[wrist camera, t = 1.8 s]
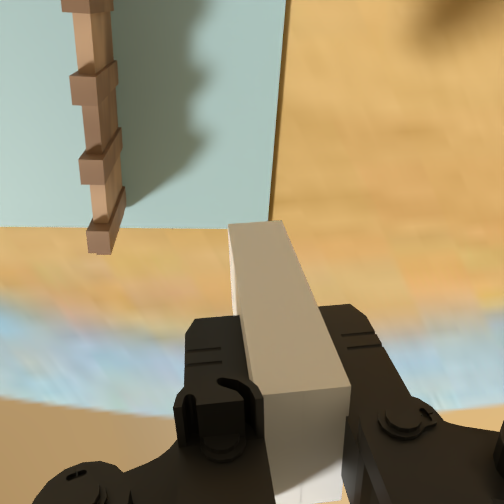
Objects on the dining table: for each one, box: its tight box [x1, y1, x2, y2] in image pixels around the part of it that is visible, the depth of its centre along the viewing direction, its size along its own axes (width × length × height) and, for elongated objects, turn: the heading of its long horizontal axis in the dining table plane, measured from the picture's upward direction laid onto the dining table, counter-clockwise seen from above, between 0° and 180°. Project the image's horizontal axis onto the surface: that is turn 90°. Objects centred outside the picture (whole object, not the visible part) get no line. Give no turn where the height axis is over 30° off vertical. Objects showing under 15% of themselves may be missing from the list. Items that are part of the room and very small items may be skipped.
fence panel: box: [61, 0, 127, 255], centre depth 20 cm, size 11×1×5 cm, turn 177°
